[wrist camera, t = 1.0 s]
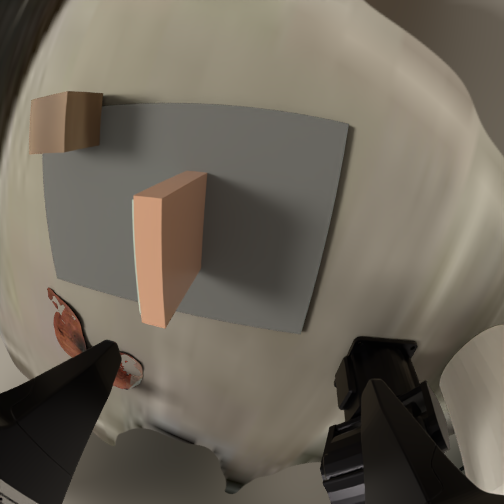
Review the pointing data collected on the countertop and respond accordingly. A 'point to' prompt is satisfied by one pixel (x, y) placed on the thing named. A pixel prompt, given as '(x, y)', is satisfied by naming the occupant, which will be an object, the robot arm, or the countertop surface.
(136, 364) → the figurine
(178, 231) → the tile
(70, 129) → the cube
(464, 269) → the countertop surface
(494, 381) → the bottle
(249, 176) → the mat
